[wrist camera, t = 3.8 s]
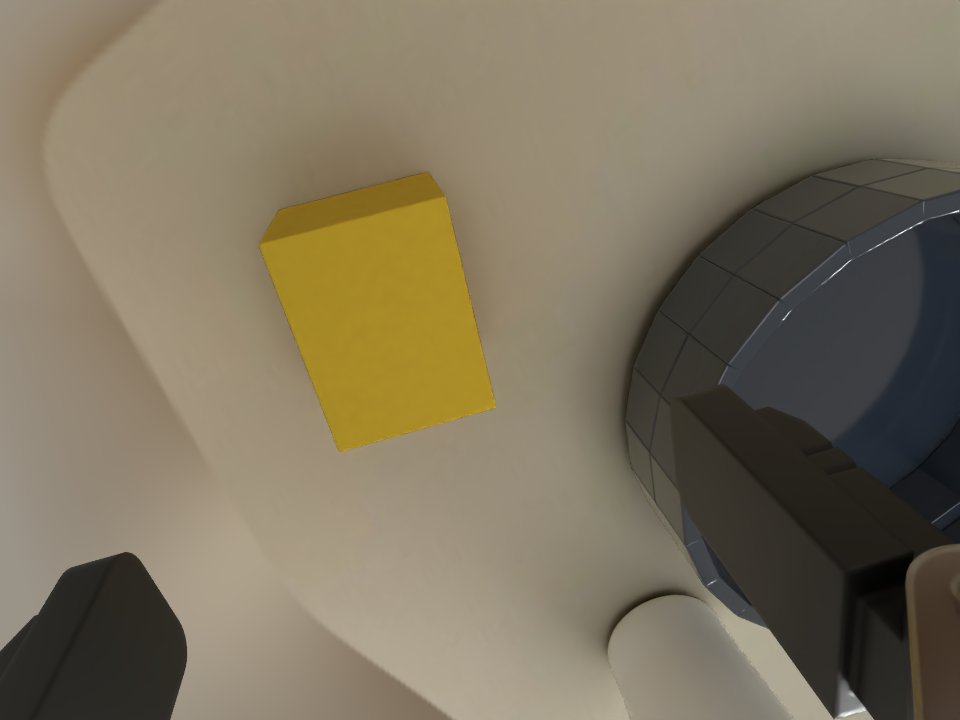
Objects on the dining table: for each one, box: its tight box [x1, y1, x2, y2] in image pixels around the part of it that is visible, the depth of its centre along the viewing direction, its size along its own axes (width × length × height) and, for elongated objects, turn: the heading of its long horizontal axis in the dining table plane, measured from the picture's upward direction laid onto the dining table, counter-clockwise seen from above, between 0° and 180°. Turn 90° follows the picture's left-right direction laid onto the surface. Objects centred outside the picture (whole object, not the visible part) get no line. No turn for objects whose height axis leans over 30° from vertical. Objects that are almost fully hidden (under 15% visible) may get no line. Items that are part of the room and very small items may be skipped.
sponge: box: [259, 172, 496, 452], centre depth 18 cm, size 4×6×4 cm
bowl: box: [625, 159, 960, 629], centre depth 22 cm, size 16×16×5 cm
